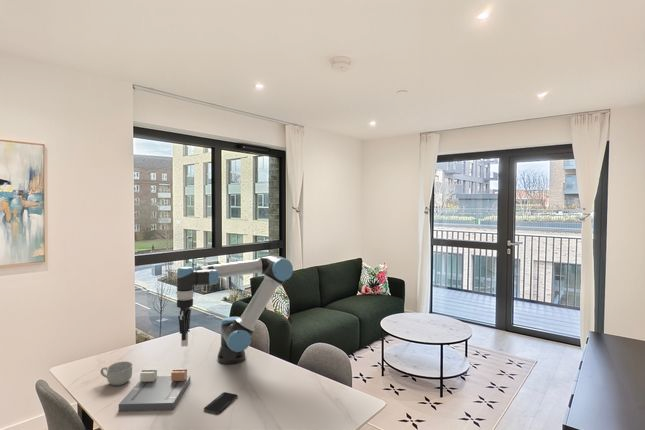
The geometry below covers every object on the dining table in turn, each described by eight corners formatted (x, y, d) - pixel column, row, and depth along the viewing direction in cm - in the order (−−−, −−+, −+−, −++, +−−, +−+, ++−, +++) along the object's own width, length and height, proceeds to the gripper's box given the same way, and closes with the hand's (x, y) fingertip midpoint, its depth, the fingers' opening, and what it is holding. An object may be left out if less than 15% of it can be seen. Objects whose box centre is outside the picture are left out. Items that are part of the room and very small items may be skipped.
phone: (202, 409, 148) (223, 391, 162) (202, 411, 148) (223, 394, 162) (218, 413, 146) (238, 395, 160) (218, 415, 146) (238, 397, 160)
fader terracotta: (187, 376, 170) (187, 367, 170) (184, 380, 166) (184, 371, 166) (174, 376, 170) (174, 367, 170) (171, 380, 166) (171, 371, 166)
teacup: (137, 377, 176) (137, 361, 175) (122, 389, 165) (122, 372, 165) (110, 376, 177) (110, 360, 177) (94, 387, 166) (94, 370, 166)
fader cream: (157, 377, 169) (157, 368, 169) (153, 381, 165) (153, 372, 165) (143, 377, 169) (143, 368, 169) (140, 381, 165) (140, 372, 165)
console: (190, 381, 172) (190, 375, 172) (173, 409, 149) (173, 402, 148) (143, 382, 171) (143, 376, 171) (118, 411, 147) (118, 403, 147)
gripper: (181, 295, 182) (181, 340, 182) (172, 301, 169) (172, 351, 169) (196, 295, 182) (196, 340, 183) (188, 301, 169) (188, 351, 170)
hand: (184, 345), depth 176 cm, fingers closed
